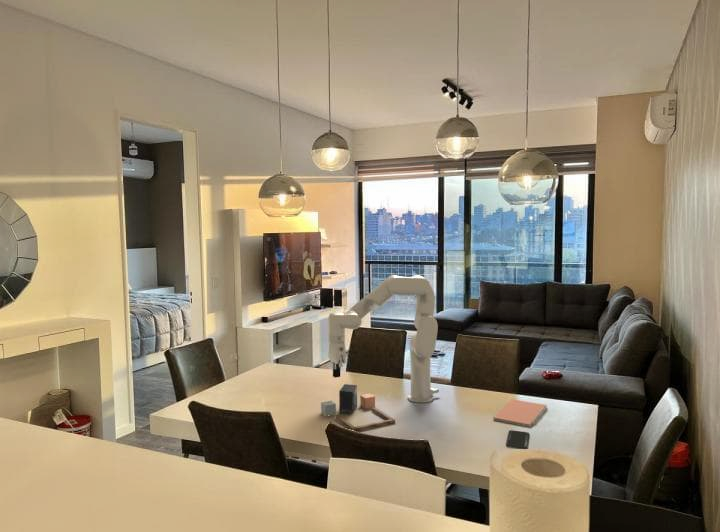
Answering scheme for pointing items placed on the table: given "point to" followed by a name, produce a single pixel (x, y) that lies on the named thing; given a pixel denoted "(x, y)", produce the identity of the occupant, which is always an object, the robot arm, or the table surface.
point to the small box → (348, 399)
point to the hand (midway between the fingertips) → (336, 376)
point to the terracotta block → (367, 400)
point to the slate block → (328, 408)
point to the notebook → (521, 413)
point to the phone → (517, 439)
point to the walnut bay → (368, 426)
